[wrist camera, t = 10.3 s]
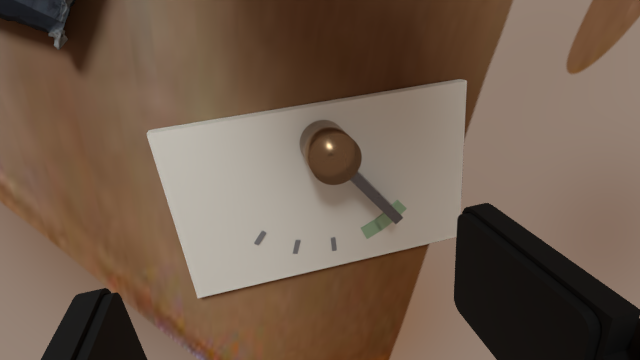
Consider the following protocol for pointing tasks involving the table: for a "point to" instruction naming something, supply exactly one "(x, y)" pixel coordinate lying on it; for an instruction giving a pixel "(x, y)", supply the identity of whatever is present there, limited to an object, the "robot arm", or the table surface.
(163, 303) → the table surface
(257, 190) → the dial board
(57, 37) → the electronic device
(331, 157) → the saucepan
